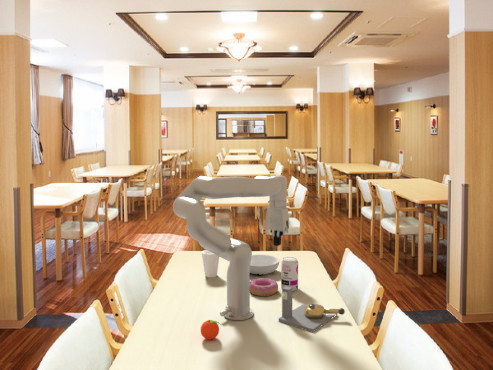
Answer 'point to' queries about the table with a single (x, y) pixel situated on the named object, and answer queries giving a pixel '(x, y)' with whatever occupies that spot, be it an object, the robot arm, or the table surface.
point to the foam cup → (210, 263)
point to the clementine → (210, 329)
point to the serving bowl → (263, 264)
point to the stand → (299, 313)
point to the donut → (263, 287)
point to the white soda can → (289, 273)
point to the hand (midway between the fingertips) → (277, 245)
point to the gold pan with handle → (319, 311)
